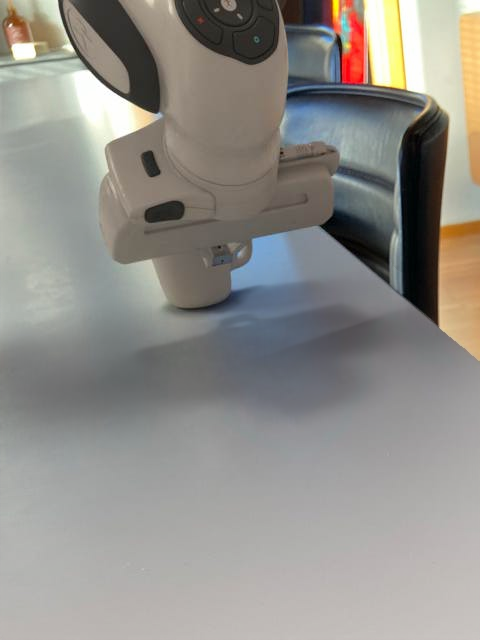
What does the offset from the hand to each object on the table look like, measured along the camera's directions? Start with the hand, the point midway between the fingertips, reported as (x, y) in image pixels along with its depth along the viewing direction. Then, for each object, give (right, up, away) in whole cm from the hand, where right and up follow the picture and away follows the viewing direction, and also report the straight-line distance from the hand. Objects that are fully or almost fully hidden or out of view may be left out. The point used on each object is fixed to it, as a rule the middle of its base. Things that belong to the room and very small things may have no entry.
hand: (219, 258), depth 95 cm
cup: (-3, -1, +8) cm, 9 cm away
